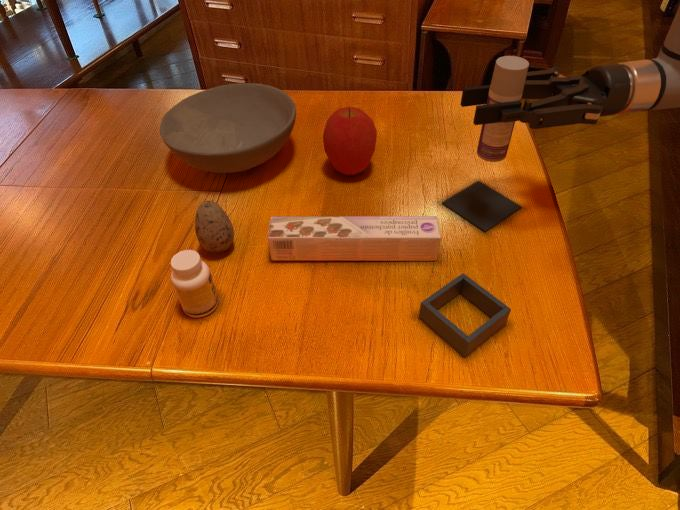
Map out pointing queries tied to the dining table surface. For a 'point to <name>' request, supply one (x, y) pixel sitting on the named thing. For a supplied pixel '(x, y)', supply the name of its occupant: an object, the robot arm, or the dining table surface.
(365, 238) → the box
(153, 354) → the dining table surface
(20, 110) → the dining table surface
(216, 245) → the decorative egg
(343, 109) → the apple
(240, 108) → the bowl
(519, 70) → the container
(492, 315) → the open box
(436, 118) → the dining table surface
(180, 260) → the supplement bottle
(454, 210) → the coaster
